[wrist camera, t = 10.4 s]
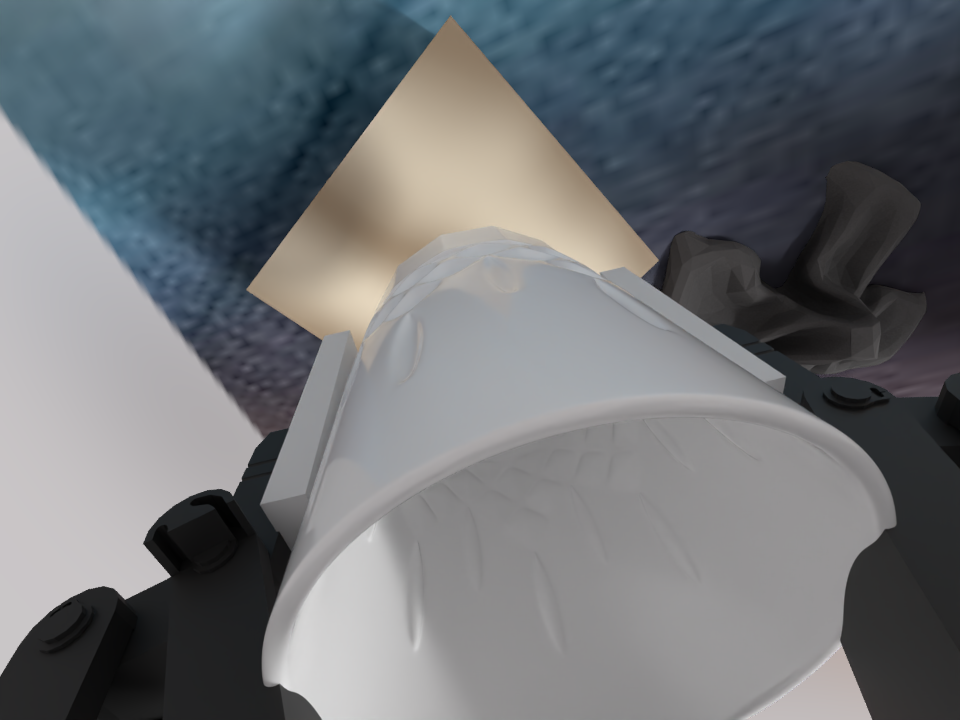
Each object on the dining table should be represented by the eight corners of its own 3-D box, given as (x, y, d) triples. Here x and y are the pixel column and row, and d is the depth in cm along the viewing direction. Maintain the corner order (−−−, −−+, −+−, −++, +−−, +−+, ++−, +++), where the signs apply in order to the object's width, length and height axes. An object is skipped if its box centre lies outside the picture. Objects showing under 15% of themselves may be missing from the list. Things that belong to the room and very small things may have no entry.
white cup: (389, 448, 16) (367, 840, 7) (321, 229, 12) (100, 508, 3) (600, 406, 16) (814, 727, 8) (598, 181, 13) (1022, 321, 4)
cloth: (598, 281, 27) (646, 321, 22) (897, 79, 24) (1039, 68, 18) (714, 485, 37) (766, 547, 32) (933, 363, 34) (1031, 409, 29)
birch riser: (441, 38, 20) (450, 15, 15) (615, 236, 25) (659, 260, 21) (276, 257, 23) (246, 289, 19) (461, 389, 28) (470, 438, 24)
